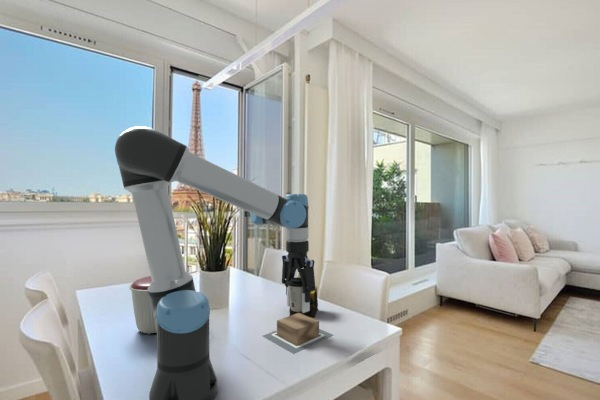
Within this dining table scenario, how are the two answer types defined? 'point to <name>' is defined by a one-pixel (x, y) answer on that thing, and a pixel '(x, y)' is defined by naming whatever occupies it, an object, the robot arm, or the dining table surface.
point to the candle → (312, 305)
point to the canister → (143, 305)
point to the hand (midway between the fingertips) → (298, 308)
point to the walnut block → (297, 328)
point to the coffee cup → (295, 294)
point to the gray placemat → (293, 347)
